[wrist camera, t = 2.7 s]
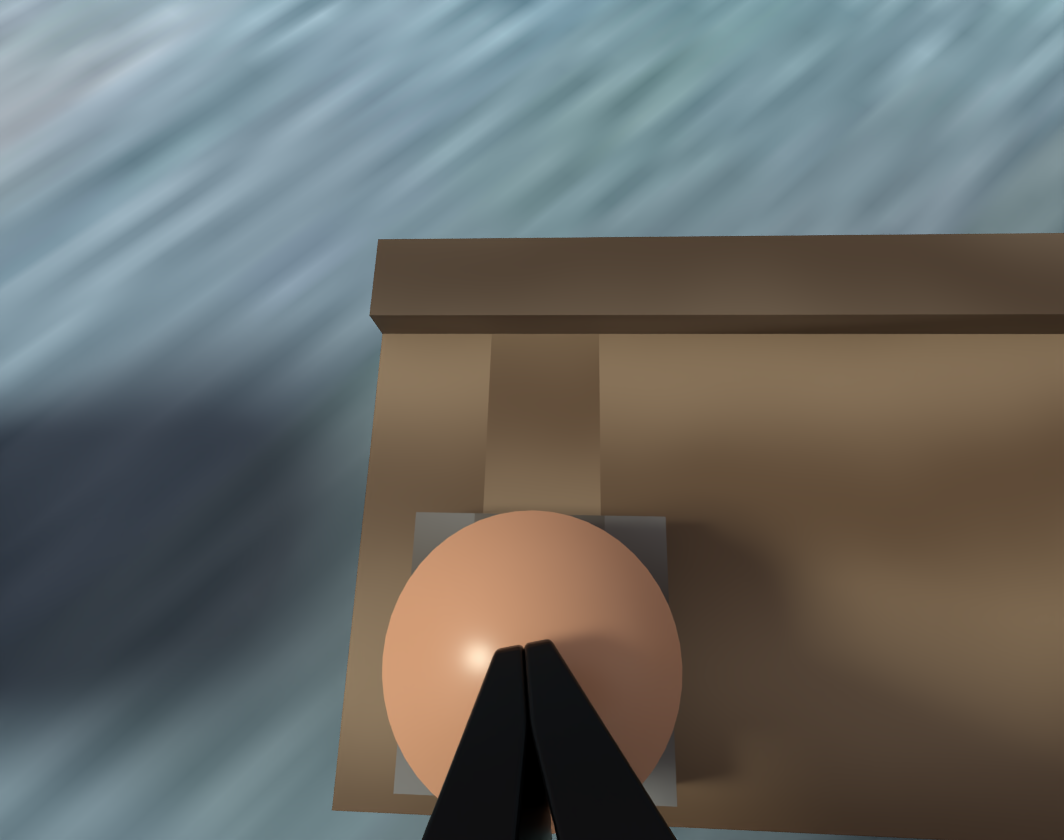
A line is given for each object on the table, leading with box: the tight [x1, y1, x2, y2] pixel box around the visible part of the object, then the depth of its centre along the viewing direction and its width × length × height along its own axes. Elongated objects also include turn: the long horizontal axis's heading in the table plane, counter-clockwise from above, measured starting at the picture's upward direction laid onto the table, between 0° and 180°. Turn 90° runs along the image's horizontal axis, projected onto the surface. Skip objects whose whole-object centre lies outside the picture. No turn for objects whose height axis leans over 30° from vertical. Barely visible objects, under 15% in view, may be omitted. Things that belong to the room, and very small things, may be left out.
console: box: [332, 233, 1064, 840], centre depth 14 cm, size 12×22×5 cm, turn 89°
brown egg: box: [382, 510, 682, 834], centre depth 12 cm, size 5×5×6 cm
